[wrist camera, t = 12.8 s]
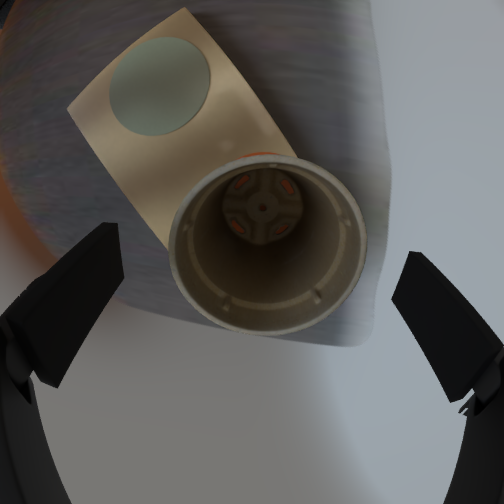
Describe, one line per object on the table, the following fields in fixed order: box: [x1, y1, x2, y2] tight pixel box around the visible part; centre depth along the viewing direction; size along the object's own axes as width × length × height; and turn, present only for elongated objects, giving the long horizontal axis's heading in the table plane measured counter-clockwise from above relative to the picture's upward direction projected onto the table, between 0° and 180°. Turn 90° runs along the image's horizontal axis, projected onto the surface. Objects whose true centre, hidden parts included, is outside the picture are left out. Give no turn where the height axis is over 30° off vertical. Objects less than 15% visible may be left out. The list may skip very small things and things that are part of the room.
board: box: [67, 7, 298, 250], centre depth 19 cm, size 21×13×2 cm, turn 33°
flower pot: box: [168, 154, 367, 336], centre depth 16 cm, size 9×9×9 cm
